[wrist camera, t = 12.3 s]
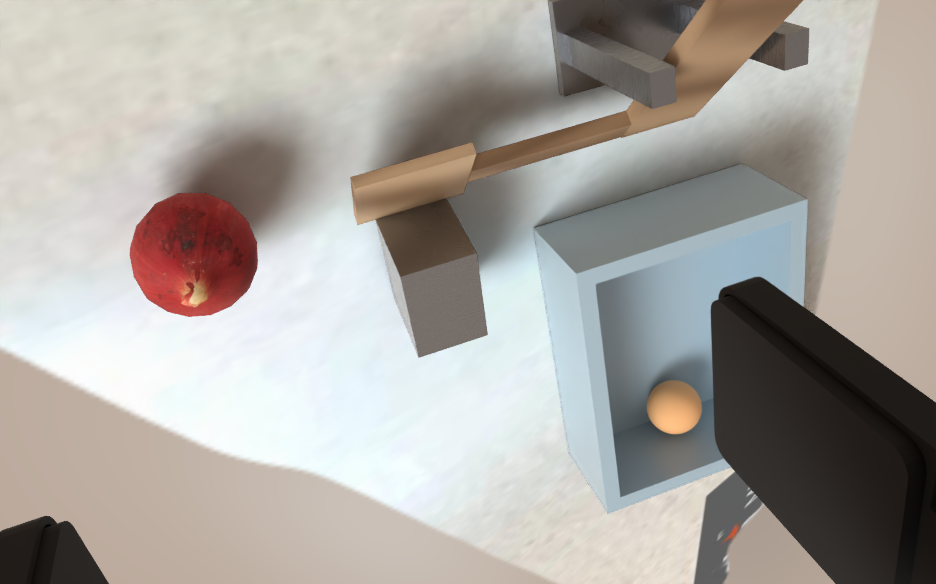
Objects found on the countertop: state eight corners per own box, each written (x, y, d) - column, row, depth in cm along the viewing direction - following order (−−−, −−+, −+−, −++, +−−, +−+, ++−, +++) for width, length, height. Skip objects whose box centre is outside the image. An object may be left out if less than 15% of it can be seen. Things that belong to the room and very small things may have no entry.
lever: (314, -163, 17) (361, -29, 16) (1066, -323, 20) (1124, -216, 20) (353, 213, 43) (372, 268, 43) (676, 117, 46) (696, 168, 46)
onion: (128, 173, 40) (115, 237, 33) (249, 170, 41) (261, 230, 35) (142, 279, 42) (133, 359, 36) (255, 272, 44) (267, 346, 37)
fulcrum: (547, 0, 42) (638, 35, 34) (696, -38, 43) (818, -14, 35) (559, 93, 44) (646, 147, 36) (699, 54, 46) (814, 97, 37)
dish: (533, 228, 48) (576, 273, 43) (742, 163, 50) (807, 198, 45) (568, 453, 57) (607, 513, 52) (744, 389, 59) (798, 441, 54)
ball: (668, 434, 52) (654, 446, 55) (718, 416, 52) (701, 429, 56) (645, 383, 53) (632, 398, 56) (694, 366, 54) (679, 381, 57)
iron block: (400, 277, 40) (418, 357, 44) (476, 253, 40) (487, 334, 44) (375, 219, 43) (394, 299, 47) (446, 198, 44) (458, 278, 48)
